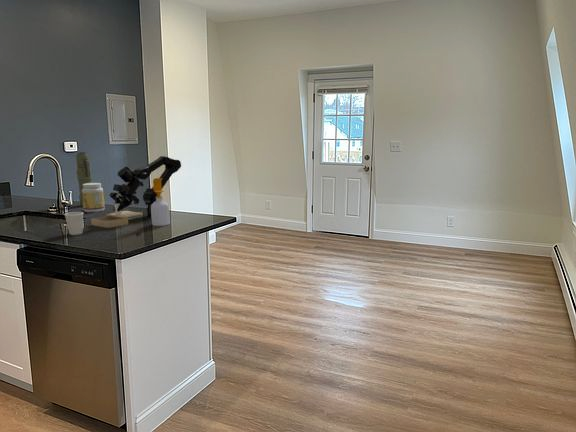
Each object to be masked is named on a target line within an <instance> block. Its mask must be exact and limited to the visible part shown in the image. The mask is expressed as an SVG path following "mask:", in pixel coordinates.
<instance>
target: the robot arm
mask: <svg viewBox="0 0 576 432" xmlns="http://www.w3.org/2000/svg"><path fill="white" fill-rule="evenodd" d="M163 166H164V167H165V168H164V171H163V172H162V174H161V175H160V176H159V178H162V180H161V186H162V189H163V188H164V187H165V185H166V184H167V183H168V181H169V180H170V178H171V177H172V175H173V174H175V173H177V172H178V171H180V169H181V168H182V162H181V160H179V159H174V158H171V157H169V156H165V155H164V156H163V155H162V156H159V157H158V158H156V159H155V160H153V161H152V162H149V163H148V164H147V165H146V166H145V165H144V166H142V167H138V168H136V169H134V170H133V171H132V170H131V169H130V168H129V167H128V166H124V167H123V168H121V169H120V170H119V171H118V172H117V176H118V177H119V178H120V179H121V180H122V181H123V182H124V183H125V184H123V183H122V184H116V183H115V184H114V185H113V188H112V190H113V191H115V192H113V191H112V192H110V193H109V195H108V196H109V197H110V198H111V199H112V200H113V201H114V204H117V203H118V204H120V205H119V207H118V209H117V211H118V212H119V211H120V210H121V211H122V210H124V209H126V208H127V207H129V206H132V204H134V205H136V206H138V205H139V203H140V198H138V196H136V194H137V190H138V189H139V187H144V185H145V184H144V183H143V182H144V181H145V180H147V179H148V178H149V177H151V174H152V173H153V172H154V171H156V170H157V169H159V168H160V167H163ZM143 180H144V181H143ZM126 183H127V184H126ZM156 196H157V194H156V192H154V187H153V186H151V188H149V187H148V188H146V190H145V191H144V192H143V195H142V200H143V201H144V204H145V206H147V207H146V214H147V215H146V216H147V217H151V205H152V204H153V203H154V202H155V201H156ZM132 202H133V203H132ZM112 211H114V212H115V206H114V205H113V209H112Z"/></svg>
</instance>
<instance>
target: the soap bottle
mask: <svg viewBox="0 0 576 432" xmlns="http://www.w3.org/2000/svg"><path fill="white" fill-rule="evenodd" d="M161 180H162V178H160V177H158V178H157V177H156V178H153V179H152V183H153V185H152V187H154V192H156V194H157V196H156V201H155V202H154V203H153V204H152V205H151V216H150V217H151V225H152V226H153V227H165V226H168V225H170V224H171V221H170V220H171V219H170V205H169V204H168V203H167V202H166V201H165V200H164V199H163V196H162V195H161V194H162V193H163V192H164V190H163V188H162V186H161Z"/></svg>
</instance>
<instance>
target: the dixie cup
mask: <svg viewBox="0 0 576 432" xmlns="http://www.w3.org/2000/svg"><path fill="white" fill-rule="evenodd" d="M64 217H65V221H66V225H67V229H68V232H69V235H71V236H77V235H82V234H83V228H84V226H83V225H84V212H83V211H71V212H70V211H69V212H66V213H64Z"/></svg>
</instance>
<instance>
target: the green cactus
mask: <svg viewBox="0 0 576 432" xmlns="http://www.w3.org/2000/svg"><path fill="white" fill-rule="evenodd" d="M75 157H76V158H75V159H76V165H77V167H76V168H77V169H76V178H77V181H78V189H79V195H78V197H79V199H78V200H79V204H80V207H83V198H82V189H83V184H86V183H93V182H92V180H93V173H92V170H91V166H90V165H91V164H90V156H89V154H88V153H87V152H85V151H83V152H78V153H76V156H75Z"/></svg>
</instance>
